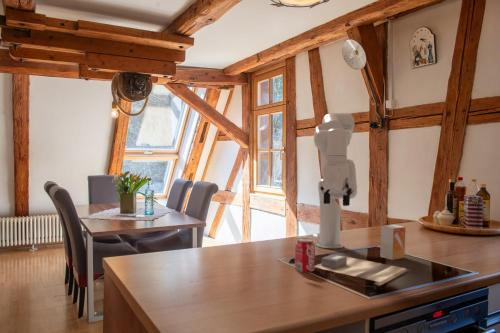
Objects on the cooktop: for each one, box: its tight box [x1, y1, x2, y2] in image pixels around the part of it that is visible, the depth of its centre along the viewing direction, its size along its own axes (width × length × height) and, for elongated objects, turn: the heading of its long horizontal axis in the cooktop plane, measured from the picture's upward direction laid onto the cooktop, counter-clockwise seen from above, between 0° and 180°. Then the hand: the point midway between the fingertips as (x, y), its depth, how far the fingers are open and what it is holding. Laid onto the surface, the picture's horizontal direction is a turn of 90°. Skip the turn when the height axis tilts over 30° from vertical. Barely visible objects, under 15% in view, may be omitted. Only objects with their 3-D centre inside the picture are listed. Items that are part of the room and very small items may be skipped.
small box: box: [379, 224, 406, 261], centre depth 170 cm, size 8×6×13 cm
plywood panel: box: [315, 255, 407, 286], centre depth 150 cm, size 26×22×1 cm
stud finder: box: [320, 253, 348, 269], centre depth 152 cm, size 6×8×3 cm
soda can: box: [294, 237, 316, 273], centre depth 146 cm, size 7×7×12 cm
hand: (336, 204), depth 159 cm, fingers open, 9 cm apart
